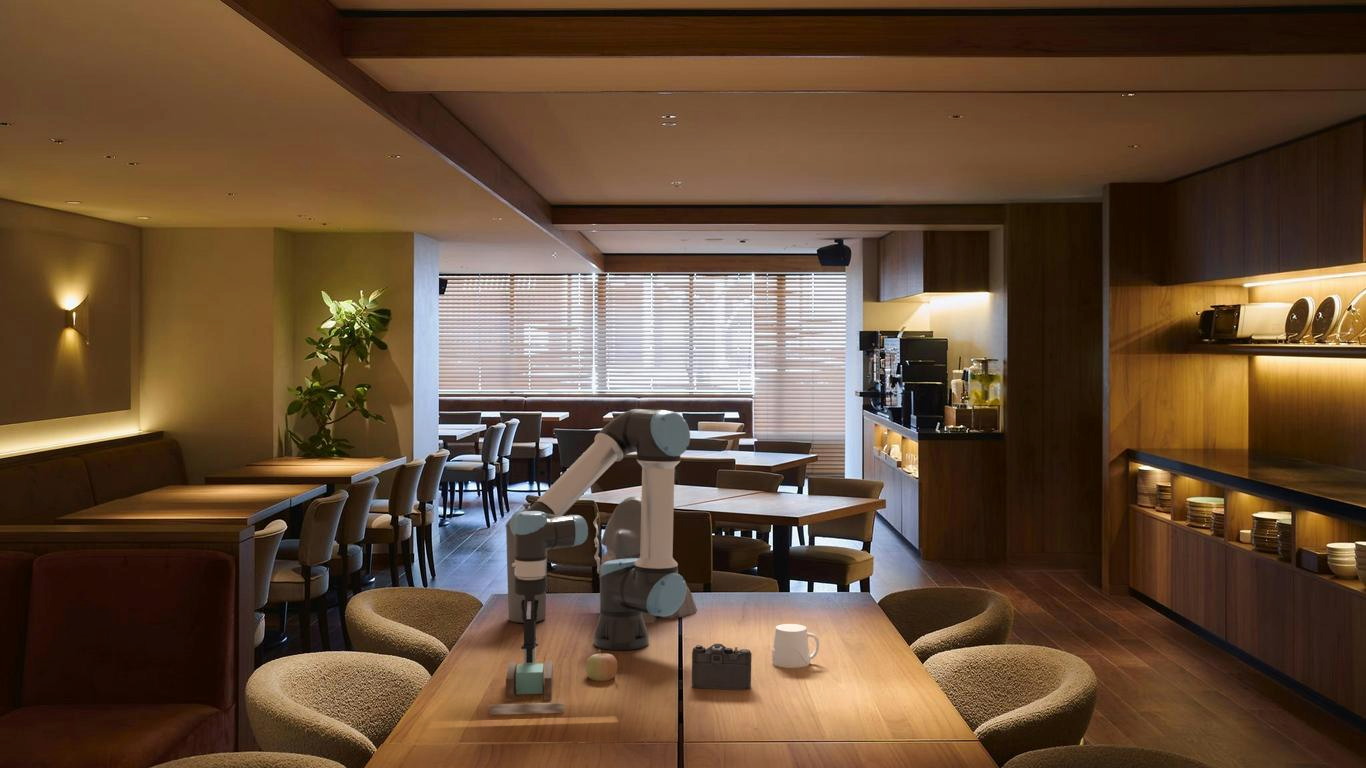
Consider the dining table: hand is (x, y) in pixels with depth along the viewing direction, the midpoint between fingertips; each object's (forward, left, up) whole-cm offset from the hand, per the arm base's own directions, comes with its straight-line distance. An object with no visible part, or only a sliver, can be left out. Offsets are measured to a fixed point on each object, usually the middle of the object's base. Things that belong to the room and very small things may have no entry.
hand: (529, 674), depth 257 cm
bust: (-32, -74, -3) cm, 81 cm away
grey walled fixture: (0, +11, -3) cm, 11 cm away
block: (0, +6, -2) cm, 6 cm away
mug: (-67, -13, -3) cm, 69 cm away
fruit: (-17, -2, -3) cm, 18 cm away
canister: (+4, -65, -3) cm, 65 cm away
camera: (-46, +2, -3) cm, 46 cm away
